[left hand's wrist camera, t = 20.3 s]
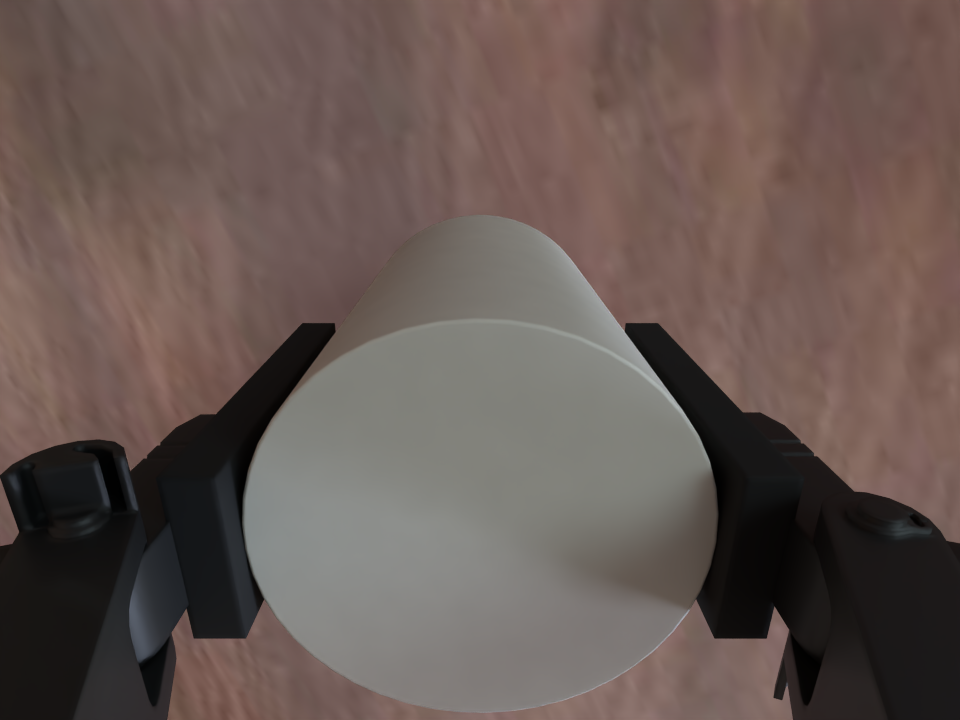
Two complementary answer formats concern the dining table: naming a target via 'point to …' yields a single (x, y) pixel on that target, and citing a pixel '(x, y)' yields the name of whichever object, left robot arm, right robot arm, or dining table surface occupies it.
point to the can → (480, 484)
